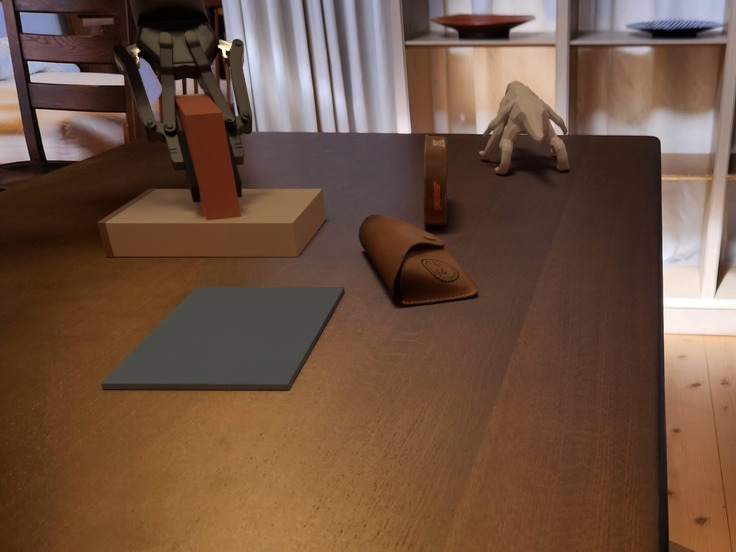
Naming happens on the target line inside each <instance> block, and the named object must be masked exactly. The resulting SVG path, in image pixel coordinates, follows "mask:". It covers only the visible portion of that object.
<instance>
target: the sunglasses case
mask: <svg viewBox="0 0 736 552" xmlns="http://www.w3.org/2000/svg"><path fill="white" fill-rule="evenodd" d="M358 241H359V243H360V245H361V247H362V249H363V250H364V251H365V252H366V254H367V256H368V257H369V258H370V260H371V262H372V263H373V266H374V267H375V268H376V270H377V271H378V273H379V275H380V276H381V277H382V280H383V282H384V284H385V285H386V287H387V289H388V290H389V292H390V294H391V295H392V296H393V297H395V298H396V300H398V301H399V302H400V303H401V304H402V305H403V306H415V305H417V306H419V305H420V306H422V305H434V304H441V303H447V302H452V301H459V300H462V299H467V298H471V297H474V296H475V295H478V294H479V289H478V287H477V285H476V284H475V283H474V281H473V280H472V278H471V277H470V276H469V274H468V272H467V271H466V270H465V269H464V268H463V267H462V265H461V264H460V263H459V261H458V260H457V259H456V258H455V257H454V255H452V253H451V252H450V251H449V250H448V248H447V247H446V244H445V243H444V242H443V240H441V238H439V237H437V235H435V234H433V233H430V232H428V231H425V230H423V229H422V228H420V227H417V226H415V225H413V224H411V223H408V222H407V221H404V220H402V219H398V218H395V217H394V216H393V217H392V216H388V215H384V214H370V215H367V216H366V217H365V218H364V220H363V221H362V223H361V224H360V226H359V230H358Z"/></svg>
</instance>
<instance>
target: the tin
mask: <svg viewBox="0 0 736 552" xmlns="http://www.w3.org/2000/svg"><path fill="white" fill-rule="evenodd" d="M423 153H424V154H423V226H424V227H428V226H433V227H434V226H435V227H443V226H447V224H448V203H447V202H448V193H447V192H448V191H447V190H448V188H447V187H448V184H447V182H448V173H449V172H448V171H449V170H448V169H449V140H448V138H447V137H446V136H440V135H439V136H438V135H428V134H425V139H424V150H423Z"/></svg>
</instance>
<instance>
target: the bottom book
mask: <svg viewBox="0 0 736 552" xmlns="http://www.w3.org/2000/svg"><path fill="white" fill-rule="evenodd" d="M238 201H239V207H240V212H241V216H240V217H231V218H222V219H213V220H206V218H205V216H204V214H203V212H202V210H201V208H200V205H199V203H198V202H193V200H192V196H191V192H190V188H154V187H153V188H148V189H147V190H145V191H144V192H142V193H141V194H139V195H137V196H136V197H134V198H133V199H131V200H130V201H128V202H126V203H125V204H123V205H122V206H121V207H119V208H117V209H116V210H114V211H113V212H111V213H110V214H108V215H107V216H105V217H104V218H102V219H100V220H99V221H97V226H98V230H99V234H100V237H101V241H102V244H103V249H104V253H105V256H106V258H116V257H117V258H120V257H121V258H122V257H124V258H125V257H126V258H127V257H128V258H131V257H132V258H139V257H140V258H146V257H147V258H155V257H156V258H164V257H165V258H167V257H168V258H183V257H184V258H195V257H196V258H219V257H220V258H298V257H299V256H300V254H301V253H302V252H303V251H304V249H305V248H306V247H307V245H308V244H309V243H310V241H311V240H312V239H313V237H314V236H315V235H316V234H317V232H318V231H319V230H320V228H321V227H322V226H323V225H324V223H325V222H326V221H327V214H326V208H325V207H326V206H325V199H324V190H323V188H242V197H240V198H238ZM325 220H326V221H325ZM324 221H325V222H324ZM321 225H322V226H321ZM318 229H319V230H318Z"/></svg>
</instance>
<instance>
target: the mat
mask: <svg viewBox="0 0 736 552" xmlns="http://www.w3.org/2000/svg"><path fill="white" fill-rule="evenodd" d="M344 294H345V287H344V286H196V287H195V288H194V289H193V290H191V292H190V293H189V294H188V295H186V297H184V299H183V300H182V301H181V302H180V303H179V304H178V305H177V306H176V307H175V308H174V309H173V310H172V311H171V312H170V313H168V314H167V316H166V317H165V318H164V319H163V320H162V321H161V322H160V323H159V324H158V325H157V326H156V327H155V328H154V329H153V330H152V331H151V332H150V333H149V334H148V335H147V336H146V338H144V339H143V340H142V341H141V342H140V343H139V344H138V345H137V346H136V347H135V348H134V349H133V350H132V351H131V353H129V355H127V356H126V357H125V358H124V359H123V360H122V361H121V362H120V363H119V364H118V366H116V367H115V369H113V370H112V371H111V373H110V374H109V375H108V376H107V377H106V378H105V379H104V380H103V381H102V382H100V386H101V388H102V390H171V391H172V390H174V391H175V390H180V391H181V390H182V391H183V390H184V391H186V390H187V391H189V390H194V391H195V390H197V391H198V390H204V391H205V390H206V391H208V390H209V391H211V390H212V391H213V390H214V391H216V390H217V391H220V390H221V391H222V390H223V391H224V390H225V391H228V390H229V391H236V390H237V391H261V390H262V391H289V390H290V389H291V388H292V385H293V383H294V382H295V380H296V378H297V376H298V374H299V373H300V371H301V369H302V368H303V367H304V364H305V363H306V360H307V359H308V357H309V356H310V353H311V352H312V350H313V348H314V346H315V345H316V343H317V341H318V339H319V338H320V336H321V334H322V332H323V331H324V329H325V327H326V326H327V324H328V322H329V321H330V318H331V317H332V315H333V313H334V312H335V310H336V308H337V306H338V305H339V303H340V301H341V300H342V298H343V295H344Z"/></svg>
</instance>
